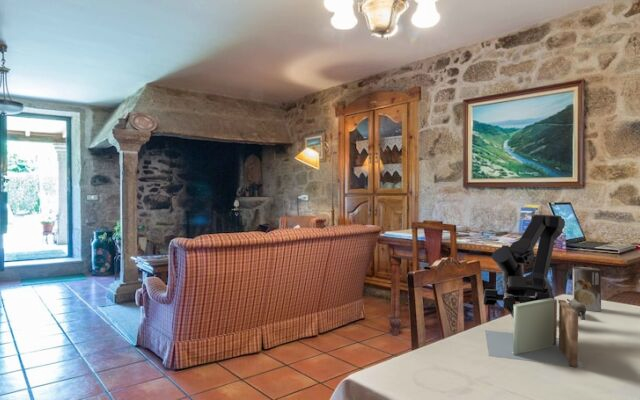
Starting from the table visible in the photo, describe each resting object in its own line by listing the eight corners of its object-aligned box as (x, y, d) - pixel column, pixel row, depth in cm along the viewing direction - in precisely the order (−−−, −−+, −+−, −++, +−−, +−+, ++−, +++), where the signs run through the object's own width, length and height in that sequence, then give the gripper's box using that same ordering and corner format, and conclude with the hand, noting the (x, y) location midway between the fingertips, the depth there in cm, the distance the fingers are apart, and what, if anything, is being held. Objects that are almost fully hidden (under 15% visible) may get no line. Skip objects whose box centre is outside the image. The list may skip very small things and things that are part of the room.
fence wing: (511, 353, 114) (512, 304, 114) (552, 342, 122) (552, 297, 122) (517, 355, 112) (517, 306, 112) (557, 344, 121) (558, 298, 121)
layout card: (485, 331, 134) (485, 329, 134) (563, 339, 127) (563, 338, 127) (488, 357, 112) (488, 355, 112) (583, 369, 105) (583, 367, 105)
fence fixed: (557, 346, 120) (558, 298, 120) (564, 346, 120) (565, 298, 119) (570, 366, 106) (571, 312, 105) (578, 367, 105) (579, 313, 105)
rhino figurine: (575, 311, 159) (575, 295, 159) (588, 321, 146) (588, 304, 146) (563, 310, 160) (563, 295, 160) (575, 320, 147) (575, 303, 147)
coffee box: (599, 308, 163) (599, 268, 163) (601, 312, 157) (601, 270, 157) (572, 305, 167) (572, 266, 167) (573, 309, 161) (573, 268, 161)
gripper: (484, 263, 130) (486, 307, 120) (550, 266, 124) (558, 313, 114) (482, 283, 138) (484, 326, 127) (545, 286, 132) (552, 332, 121)
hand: (518, 324), depth 122 cm, fingers closed
